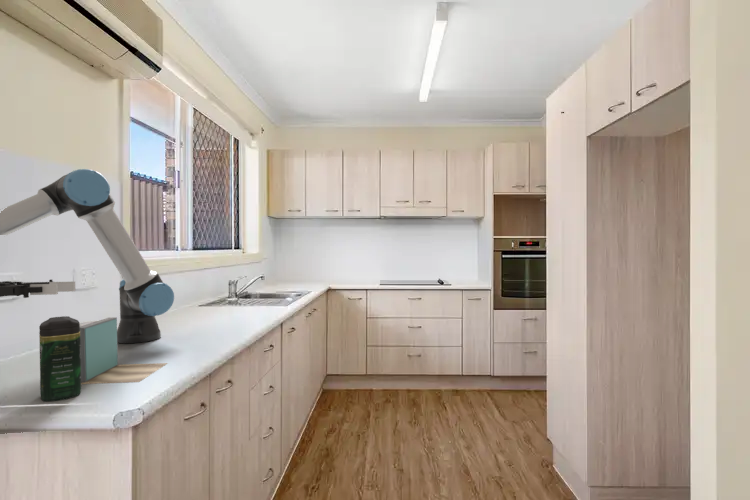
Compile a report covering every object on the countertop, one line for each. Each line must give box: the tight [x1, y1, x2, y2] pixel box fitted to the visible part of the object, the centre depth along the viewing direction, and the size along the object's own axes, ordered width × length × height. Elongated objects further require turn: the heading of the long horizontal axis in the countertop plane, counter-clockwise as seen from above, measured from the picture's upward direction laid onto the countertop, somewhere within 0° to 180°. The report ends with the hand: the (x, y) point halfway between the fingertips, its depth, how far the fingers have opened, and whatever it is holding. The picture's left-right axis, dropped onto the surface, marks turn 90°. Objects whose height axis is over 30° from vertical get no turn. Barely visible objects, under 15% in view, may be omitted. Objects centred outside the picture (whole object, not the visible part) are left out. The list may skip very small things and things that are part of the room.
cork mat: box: [81, 362, 169, 385], centre depth 122 cm, size 18×18×1 cm
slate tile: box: [80, 317, 119, 383], centre depth 121 cm, size 16×2×14 cm, turn 3°
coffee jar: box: [38, 315, 82, 402], centre depth 104 cm, size 10×8×19 cm
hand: (65, 287), depth 120 cm, fingers open, 7 cm apart
